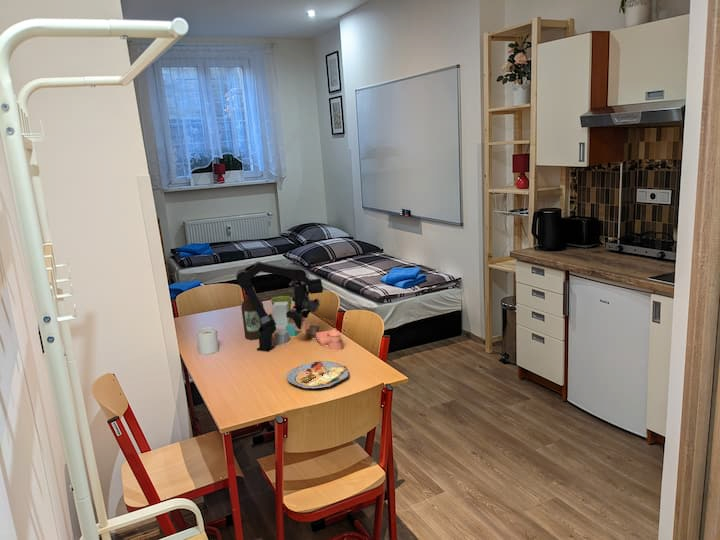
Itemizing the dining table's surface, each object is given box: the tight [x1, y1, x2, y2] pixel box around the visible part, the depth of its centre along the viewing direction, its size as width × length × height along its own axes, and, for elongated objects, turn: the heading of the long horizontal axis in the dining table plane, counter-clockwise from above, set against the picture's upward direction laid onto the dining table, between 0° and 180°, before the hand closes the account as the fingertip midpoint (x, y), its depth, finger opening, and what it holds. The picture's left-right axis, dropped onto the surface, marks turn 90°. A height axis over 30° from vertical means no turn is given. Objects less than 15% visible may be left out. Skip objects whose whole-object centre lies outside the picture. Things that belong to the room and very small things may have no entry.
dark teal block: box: [285, 322, 301, 337], centre depth 273 cm, size 5×5×5 cm
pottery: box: [315, 328, 344, 351], centre depth 256 cm, size 18×10×10 cm, turn 22°
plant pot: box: [270, 295, 293, 310], centre depth 297 cm, size 12×12×11 cm
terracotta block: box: [294, 317, 310, 332], centre depth 257 cm, size 5×5×5 cm
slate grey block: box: [274, 329, 290, 345], centre depth 263 cm, size 5×5×5 cm
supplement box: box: [272, 302, 291, 330], centre depth 284 cm, size 7×7×13 cm
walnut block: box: [305, 324, 321, 339], centre depth 269 cm, size 5×5×5 cm
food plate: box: [285, 360, 350, 389], centre depth 221 cm, size 25×23×4 cm
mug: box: [196, 327, 220, 355], centre depth 255 cm, size 11×10×10 cm
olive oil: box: [241, 286, 265, 341], centre depth 269 cm, size 11×11×25 cm
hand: (302, 327), depth 258 cm, fingers closed on terracotta block, 5 cm apart
